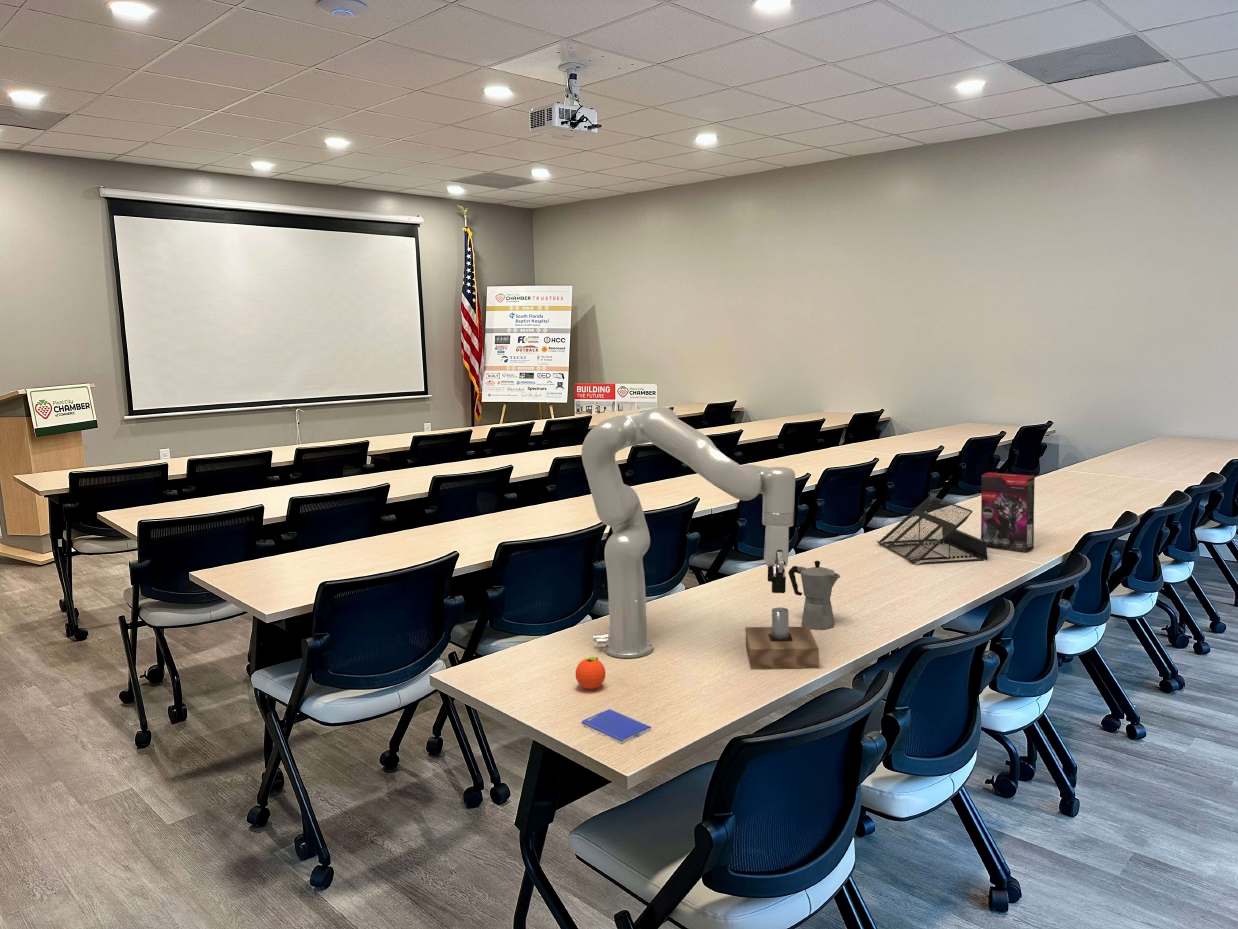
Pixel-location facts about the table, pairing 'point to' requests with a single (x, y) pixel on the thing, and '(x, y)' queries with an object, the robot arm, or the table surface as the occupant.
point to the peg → (780, 624)
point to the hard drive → (616, 726)
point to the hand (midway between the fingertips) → (776, 586)
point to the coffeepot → (815, 595)
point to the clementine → (590, 673)
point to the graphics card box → (1007, 511)
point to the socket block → (781, 649)
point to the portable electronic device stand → (949, 535)
